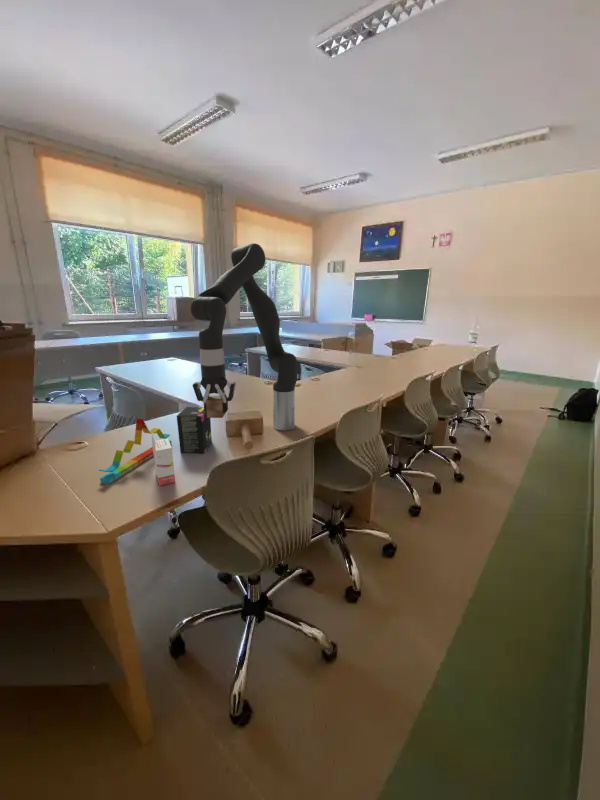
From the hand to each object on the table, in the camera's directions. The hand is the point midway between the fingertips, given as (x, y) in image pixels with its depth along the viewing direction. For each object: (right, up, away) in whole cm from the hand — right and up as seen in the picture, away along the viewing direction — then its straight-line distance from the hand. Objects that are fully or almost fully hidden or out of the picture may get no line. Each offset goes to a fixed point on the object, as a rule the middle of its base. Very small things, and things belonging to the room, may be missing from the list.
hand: (216, 412), depth 113 cm
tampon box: (-11, -14, +16) cm, 24 cm away
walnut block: (0, -1, 0) cm, 1 cm away
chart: (-27, -18, +5) cm, 33 cm away
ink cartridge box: (-15, -21, -6) cm, 26 cm away
